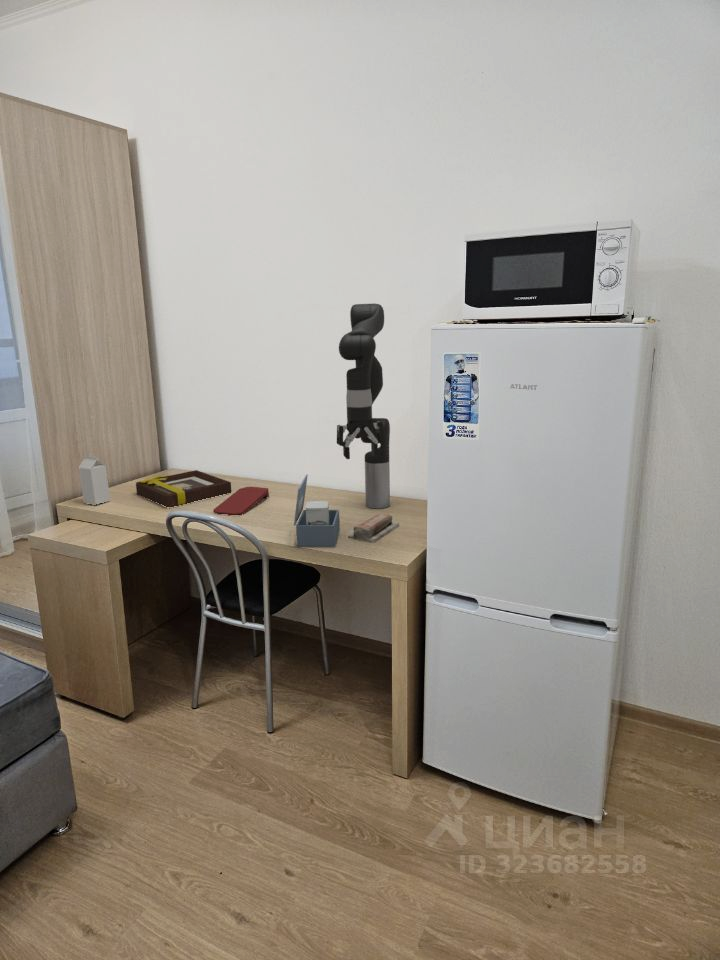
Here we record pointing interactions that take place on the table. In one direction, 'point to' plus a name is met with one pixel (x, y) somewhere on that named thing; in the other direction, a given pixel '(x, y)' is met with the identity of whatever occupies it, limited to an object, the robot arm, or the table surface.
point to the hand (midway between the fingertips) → (360, 457)
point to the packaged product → (374, 528)
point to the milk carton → (94, 481)
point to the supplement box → (317, 513)
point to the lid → (300, 499)
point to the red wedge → (241, 501)
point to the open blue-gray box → (318, 531)
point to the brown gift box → (182, 488)
